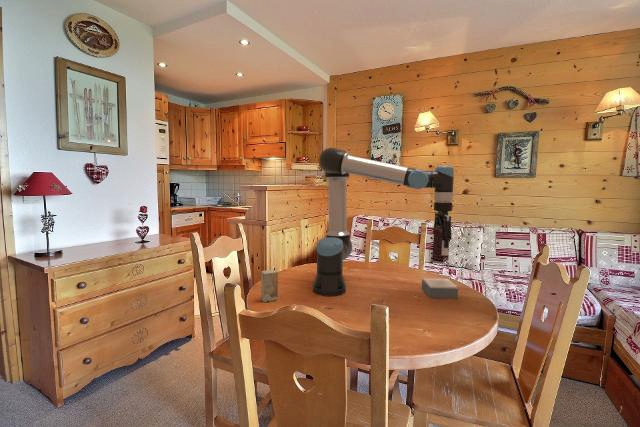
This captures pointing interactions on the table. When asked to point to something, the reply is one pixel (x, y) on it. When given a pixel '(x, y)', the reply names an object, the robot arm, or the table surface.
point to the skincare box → (269, 285)
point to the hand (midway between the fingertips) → (441, 252)
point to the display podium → (439, 288)
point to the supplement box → (438, 246)
